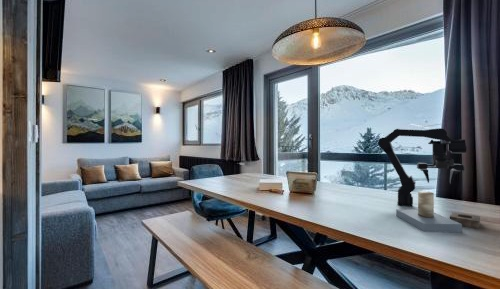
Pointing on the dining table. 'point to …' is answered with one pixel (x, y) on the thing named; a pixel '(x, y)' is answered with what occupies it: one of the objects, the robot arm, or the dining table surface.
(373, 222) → the dining table surface
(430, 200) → the leg
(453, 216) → the frame
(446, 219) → the board
